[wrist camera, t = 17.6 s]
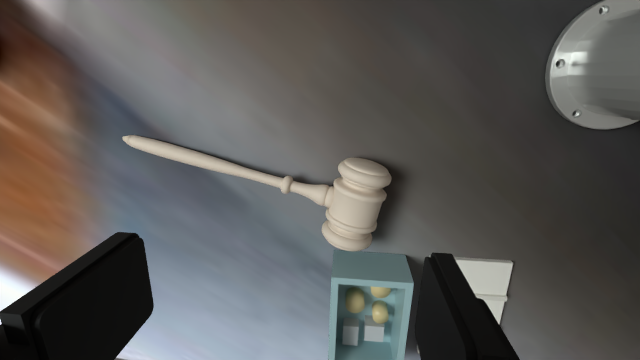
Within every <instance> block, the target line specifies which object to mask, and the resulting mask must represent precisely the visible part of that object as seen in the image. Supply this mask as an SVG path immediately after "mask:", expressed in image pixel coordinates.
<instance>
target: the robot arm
mask: <svg viewBox="0 0 640 360" xmlns="http://www.w3.org/2000/svg"><path fill="white" fill-rule="evenodd" d="M599 10H600V13H599ZM556 62H557V66H556ZM545 82H546V91H547V94H548V96H549V99H550V102H551V103H552V105H553V106H554V108H555V110H556V111H557V112H558V113H559V114H560V115H561V116H562V117H563V118H565V119H567V120H568V121H570V122H571V123H573V124H576V125H579V126H582V127H587V128H592V129H605V130H607V129H614V128H621V127H624V126H627V125H630V124H633V123H635V122H637V121H639V120H640V0H603V1H600V2H598V3H596V4H594V5H593V6H591V7H589V8H587V9H586V10H584V11H583V12H582V13H581V14H579V15H578V16H577V17H575V18H574V19H573V20H572V21H571V22H570V23H569V24H568V26H567V27H566V28H565V29H564V30H563V31H562V33H561V34H560V36H559V37H558V39H557V40H556V42H555V44H554V46H553V48H552V50H551V52H550V55H549V58H548V62H547V66H546V75H545ZM573 112H574V113H573ZM572 113H573V114H572ZM153 306H154V305H153V297H152V291H151V285H150V279H149V272H148V266H147V260H146V253H145V247H144V242H143V239H142V238H139V236H138V234H136V233H124V232H117V233H115V234H114V235H112V236H111V237H109V238H108V239H106V240H105V241H103V242H102V243H101V244H99V245H98V246H96V247H95V248H93V249H92V250H90V251H89V252H87V253H86V254H84V255H83V256H81V257H80V258H78V259H77V260H75V261H74V262H73V263H71V264H70V265H68V266H67V267H65V268H64V269H62V270H61V271H59V272H58V273H56V274H55V275H53V276H52V277H50V278H49V279H47V280H46V281H45V282H43V283H42V284H40V285H39V286H37V287H36V288H34V289H33V290H31V291H30V292H28V293H27V294H25V295H24V296H22V297H21V298H20V299H18V300H17V301H15V302H14V303H12V304H11V305H9V306H8V307H6V308H5V309H3V310H2V311H0V319H1V322H2V324H1V325H0V360H114V359H115V358H116V357H117V355H118V354H119V353H120V352H121V351H122V349H123V348H124V347H125V346H126V345H127V343H128V342H129V341H130V340H131V339H132V337H133V336H134V335H135V334H136V332H137V331H138V330H139V329H140V328H141V326H142V325H143V324H144V323H145V322H146V320H147V319H148V318H149V317H150V315H151V314H152V311H153ZM415 336H416V341H417V345H418V349H419V353H420V357H421V360H520V359H519V357H518V356H517V354H516V352H515V351H514V349H513V347H512V346H511V344H510V342H509V341H508V339H507V337H506V335H505V334H504V332H503V330H502V329H501V327H500V325H499V324H498V322H497V320H496V319H495V317H494V315H493V314H492V312H491V310H490V309H489V307H488V305H487V304H486V302H485V301H484V300H483V299H481V298H477V297H476V296H475V294H474V292H473V290H472V289H471V287H470V285H469V283H468V282H467V280H466V278H465V276H464V274H463V273H462V271H461V269H460V267H459V266H458V264H457V262H456V260H455V259H454V257H453V255H452V254H447V253H432V254H431V257H425V261H424V267H423V274H422V281H421V289H420V296H419V303H418V310H417V317H416V324H415Z"/></svg>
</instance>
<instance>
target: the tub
mask: <svg viewBox="0 0 640 360" xmlns="http://www.w3.org/2000/svg"><path fill="white" fill-rule="evenodd" d="M413 286H414V282H413V279H412V276H411V272H410V269H409V266H408V262H407V259H406V256H405V255H403V254H388V253H373V252H358V251H354V252H353V251H342V250H334V255H333V266H332V277H331V301H330V325H329V350H328V360H404V354H405V347H406V339H407V332H408V324H409V316H410V309H411V301H412V294H413Z"/></svg>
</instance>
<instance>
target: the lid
mask: <svg viewBox="0 0 640 360" xmlns="http://www.w3.org/2000/svg"><path fill="white" fill-rule="evenodd" d="M429 257H431V256H429ZM454 259H455V260H456V262H457V264H458V266H459V267H460V269H461V271H462V273H463V274H464V276H465V278H466V280H467V282H468V283H469V285H470V287H471V289H472V290H473V292H474V294H475V296H476V297H477V298H481V299H483V300H484V301H485V302H486V304H487V305H488V307H489V309H490V310H491V312H492V314H493V315H494V317H495V319H496V320H497V322H498V324H500V320H501V315H502V311H503V306H504V302H505V301H507V296H506V293H507V289H508V284H509V280H510V275H511V271H512V266H513V263H512V261H511V260H495V259H479V258H462V257H454ZM417 352H418V353H419V349H418V345H417Z"/></svg>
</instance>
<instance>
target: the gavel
mask: <svg viewBox="0 0 640 360" xmlns="http://www.w3.org/2000/svg"><path fill="white" fill-rule="evenodd" d="M123 140H124V141H125V142H126V143H127V144H128V145H130V146H132V147H134V148H137V149H140V150H143V151H146V152H148V153H151V154H155V155H158V156H161V157H165V158H168V159H172V160H175V161H179V162H183V163H186V164H190V165H193V166H197V167H201V168H205V169H209V170H213V171H217V172H221V173H226V174H230V175H234V176H239V177H244V178H247V179H251V180H254V181H258V182H262V183H265V184H268V185H272V186H275V187H278V188H281V191H282V192H283V193H284V194H288V193H289V192H290V191H291V192H295V193H298V194H301V195H303V196H305V197H307V198H309V199H311V200H313V201H314V202H316V203H317V204H319V205H321V206H323V205H325V206H326V207H328V209H327V210H326V217H327V219H328V220H327V221H325V222H324V224H323V225H322V233H323V235H324V237H325V238H326V239H327V241H328V242H329V243H330V244H332V245H333V246H335V247H337V248H339V249H342V250H346V251H353V252H354V251H360V250H363V249H366V248H368V247H369V246H370V245H371V242H372V235H371V232H373V231H375V230H376V227H377V221H376V220H377V217H378V214H379V211H380V208H381V205H382V202H383V201H385V199H386V197H387V194H386V192H385V191H384V190H383V189H382V188H384V187H386V186H388V185H389V184H390V182H391V179H392V177H391V175H390V173H389V172H388V170H387V169H386V168H385V167H384V166H382V165H380V164H378V163H376V162H374V161H371V160H367V159H363V158H347V159H346V160H344V161H342V162H341V163H340V164H339V166H338V170H339V172H340V174H341V176H342V177H339V178H336V179H335V180H334V187H333V186H331V187H329V186H328V185H326V184H320V185H312V184H304V183H299V182H296V181H293V178H292V177H291V176H286V177H284V178H281V177H277V176H273V175H269V174H266V173H262V172H259V171H255V170H252V169H249V168H245V167H242V166H240V165H237V164H234V163H231V162H228V161H225V160H222V159H219V158H216V157H213V156H210V155H207V154H203V153H200V152H197V151H194V150H190V149H187V148H183V147H180V146H176V145H173V144H170V143H166V142H162V141H158V140H155V139H150V138H146V137H141V136H136V135H129V136H124V137H123Z"/></svg>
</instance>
